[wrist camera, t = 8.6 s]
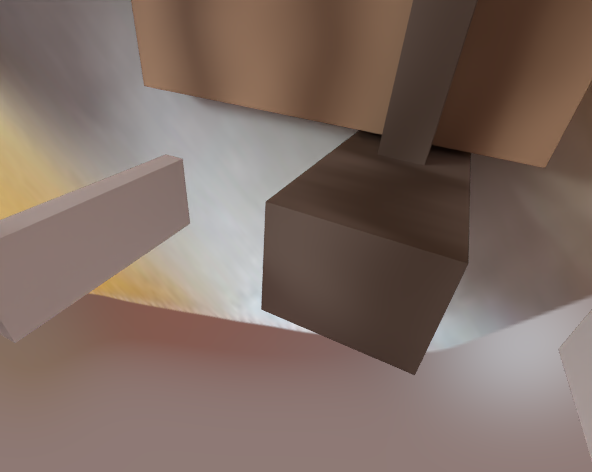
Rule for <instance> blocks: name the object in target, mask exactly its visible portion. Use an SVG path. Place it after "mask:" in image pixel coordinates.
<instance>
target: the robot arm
mask: <svg viewBox="0 0 592 472" xmlns="http://www.w3.org/2000/svg"><path fill="white" fill-rule="evenodd" d="M189 224H190V219H189V210H188V202H187V193H186V185H185V177H184V168H183V160H182V159H181V158H177V157H173V156H170V155H163V156H161V157H158V158H156V159H153V160H151V161H148V162H145V163H143V164H140V165H138V166H135V167H133V168H130V169H128V170H125V171H123V172H120V173H118V174H115V175H113V176H110V177H108V178H105V179H103V180H100V181H98V182H95V183H93V184H90V185H88V186H85V187H82V188H80V189H77V190H75V191H72V192H70V193H67V194H65V195H62V196H60V197H57V198H55V199H52V200H50V201H47V202H45V203H42V204H40V205H37V206H35V207H32V208H30V209H27V210H25V211H22V212H20V213H17V214H14V215H12V216H9V217H7V218H4V219H2V220H0V334H1V335H2V336H4V337H6V338H7V339H9V340H11V341H13V342H14V343H16V342H17V341H19V340H20V339H22V338H23V337H25V336H26V335H28V334H29V333H30V332H32V331H33V330H35V329H36V328H38V327H39V326H41V325H42V324H43V323H45V322H47V321H48V320H49V319H51V318H52V317H54V316H55V315H57V314H58V313H60V312H61V311H63V310H64V309H66V308H67V307H69V306H70V305H71V304H73V303H74V302H76V301H77V300H79V299H80V298H82V297H83V296H84V295H86V294H88V293H89V292H91V291H92V290H93V289H95V288H96V287H98V286H99V285H101V284H102V283H104V282H105V281H107V280H108V279H110V278H111V277H113V276H114V275H115V274H117V273H118V272H120V271H121V270H123V269H124V268H126V267H127V266H129V265H130V264H132V263H133V262H134V261H136V260H137V259H139V258H140V257H142V256H143V255H145V254H146V253H148V252H149V251H151V250H152V249H153V248H155V247H156V246H158V245H159V244H161V243H162V242H164V241H165V240H167V239H168V238H170V237H171V236H172V235H174V234H175V233H177V232H178V231H180V230H181V229H183V228H184V227H186V226H187V225H189ZM559 353H560V356H561V360H562V363H563V366H564V370H565V373H566V377H567V380H568V383H569V387H570V390H571V393H572V397H573V400H574V403H575V406H576V410H577V413H578V417H579V420H580V423H581V427H582V430H583V433H584V437H585V440H586V444H587V447H588V450H589V453H590V457H591V460H592V310H591V311H590V312H589V314H588V315H587V316H586V317H585V318H584V319H583V321H582V322H581V323H580V324H579V325H578V327H577V328H576V329H575V330H574V331H573V332H572V334H571V335H570V336H569V337H568V338H567V340H566V341H565V342H564V343H563V344H562V346H561V347H560V348H559Z"/></svg>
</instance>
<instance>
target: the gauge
mask: <svg viewBox="0 0 592 472" xmlns="http://www.w3.org/2000/svg"><path fill="white" fill-rule="evenodd" d="M477 2H478V0H413V3H412V7H411V12H410V16H409V20H408V25H407V29H406V33H405V38H404V42H403V46H402V51H401V55H400V59H399V63H398V68H397V72H396V76H395V81H394V85H393V89H392V94H391V98H390V102H389V107H388V111H387V115H386V120H385V124H384V128H383V133H382V134H377V133H372V132H367V131H362V130H359V131H358V132H356V133H355V134H354V135H353V136H351V137H350V138H349V139H347V140H346V141H345V142H343V143H342V144H341V145H339V146H338V147H337V148H336V149H334V150H333V151H332V152H330V153H329V154H328V155H326V156H325V157H324V158H322V159H321V160H320V161H318V162H317V163H316V164H315V165H313V166H312V167H311V168H309V169H308V170H307V171H305V172H304V173H303V174H301V175H300V176H299V177H298V178H296V179H295V180H294V181H292V182H291V183H290V184H288V185H287V186H286V187H284V188H283V189H282V190H280V191H279V192H278V193H277V194H275V195H274V196H273V197H271V198H270V199H269V200H267V201H266V207H265V232H264V257H263V281H262V306H261V309H262V310H264V311H266V312H269V313H271V314H273V315H276V316H278V317H280V318H283V319H285V320H287V321H290V322H292V323H294V324H297V325H299V326H301V327H304V328H306V329H308V330H311V331H313V332H315V333H318V334H320V335H322V336H324V337H327V338H329V339H332V340H334V341H336V342H339V343H341V344H343V345H345V346H348V347H350V348H352V349H355V350H357V351H359V352H362V353H364V354H367V355H369V356H371V357H374V358H376V359H379V360H381V361H383V362H385V363H388V364H390V365H392V366H395V367H397V368H399V369H401V370H404V371H406V372H409V373H411V374H413V375H415V374H416V371H417V369H418V367H419V365H420V363H421V361H422V359H423V357H424V355H425V353H426V351H427V349H428V346H429V344H430V342H431V340H432V338H433V336H434V334H435V332H436V330H437V328H438V326H439V324H440V322H441V319H442V317H443V315H444V313H445V311H446V309H447V307H448V305H449V303H450V301H451V299H452V297H453V294H454V292H455V290H456V288H457V286H458V284H459V282H460V280H461V278H462V276H463V274H464V272H465V269H466V267H467V265H468V251H469V205H470V158H471V153H470V152H465V151H460V150H455V149H450V148H445V147H440V146H435V145H432V143H433V139H434V136H435V133H436V130H437V127H438V124H439V121H440V118H441V115H442V111H443V108H444V105H445V102H446V99H447V96H448V93H449V90H450V86H451V83H452V80H453V77H454V74H455V71H456V68H457V65H458V61H459V58H460V55H461V52H462V49H463V46H464V43H465V40H466V37H467V33H468V30H469V27H470V24H471V21H472V18H473V15H474V12H475V8H476V5H477Z"/></svg>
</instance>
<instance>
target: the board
mask: <svg viewBox="0 0 592 472" xmlns="http://www.w3.org/2000/svg"><path fill="white" fill-rule="evenodd" d="M131 3H132V9H133V16H134V22H135V29H136V35H137V42H138V48H139V55H140V61H141V68H142V74H143V80H144V86H147V87H152V88H156V89H161V90H166V91H171V92H176V93H181V94H186V95H191V96H196V97H201V98H205V99H210V100H215V101H220V102H225V103H230V104H235V105H240V106H245V107H249V108H254V109H259V110H264V111H269V112H274V113H279V114H284V115H289V116H293V117H298V118H303V119H308V120H313V121H318V122H323V123H328V124H333V125H338V126H342V127H347V128H352V129H357V130H362V131H367V132H372V133H377V134H382V133H383V128H384V124H385V120H386V115H387V111H388V107H389V102H390V98H391V94H392V89H393V85H394V81H395V76H396V72H397V68H398V63H399V59H400V55H401V51H402V46H403V42H404V38H405V33H406V29H407V25H408V20H409V16H410V12H411V7H412V3H413V0H131ZM591 81H592V0H478V2H477V5H476V8H475V12H474V15H473V18H472V21H471V24H470V27H469V30H468V33H467V37H466V40H465V43H464V46H463V49H462V52H461V55H460V58H459V61H458V65H457V68H456V71H455V74H454V77H453V80H452V83H451V86H450V90H449V93H448V96H447V99H446V102H445V105H444V108H443V111H442V115H441V118H440V121H439V124H438V127H437V130H436V133H435V136H434V139H433V143H432V145H435V146H440V147H445V148H450V149H455V150H460V151H465V152H470V153H475V154H479V155H484V156H489V157H494V158H499V159H504V160H509V161H514V162H519V163H524V164H528V165H533V166H538V167H543V168H545V167H546V165H547V163H548V161H549V160H550V158H551V156H552V154H553V152H554V150H555V148H556V146H557V145H558V143H559V141H560V139H561V137H562V135H563V133H564V131H565V130H566V128H567V126H568V124H569V122H570V120H571V118H572V117H573V115H574V113H575V111H576V109H577V107H578V105H579V103H580V102H581V100H582V98H583V96H584V94H585V92H586V90H587V88H588V87H589V85H590V83H591Z"/></svg>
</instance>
